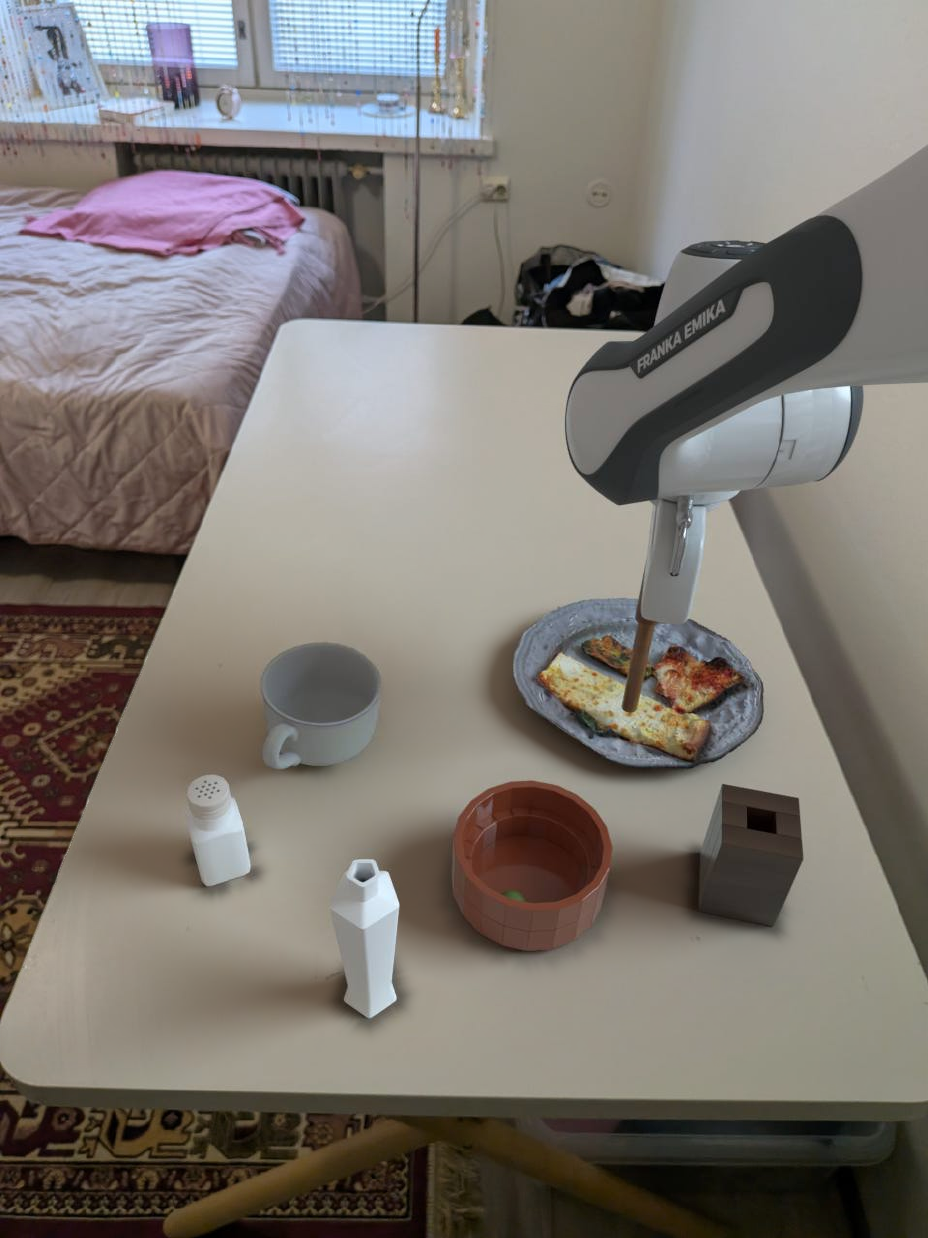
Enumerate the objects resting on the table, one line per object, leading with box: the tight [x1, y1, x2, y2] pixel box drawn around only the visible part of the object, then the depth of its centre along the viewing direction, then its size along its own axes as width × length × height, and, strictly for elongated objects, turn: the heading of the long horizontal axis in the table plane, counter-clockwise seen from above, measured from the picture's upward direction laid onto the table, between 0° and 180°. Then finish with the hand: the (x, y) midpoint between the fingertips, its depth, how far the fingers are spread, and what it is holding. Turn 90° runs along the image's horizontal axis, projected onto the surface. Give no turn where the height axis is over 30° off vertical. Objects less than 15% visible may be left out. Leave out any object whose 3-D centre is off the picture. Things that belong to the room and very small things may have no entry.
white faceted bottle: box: [329, 858, 400, 1019], centre depth 64 cm, size 5×4×15 cm
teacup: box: [259, 641, 382, 770], centre depth 85 cm, size 14×11×8 cm
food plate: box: [512, 597, 765, 770], centre depth 94 cm, size 25×23×4 cm
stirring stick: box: [622, 557, 659, 713], centre depth 83 cm, size 2×2×18 cm
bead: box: [502, 890, 526, 902], centre depth 73 cm, size 2×2×2 cm
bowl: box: [451, 780, 614, 952], centre depth 75 cm, size 12×12×6 cm
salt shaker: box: [184, 773, 252, 887], centre depth 74 cm, size 4×4×10 cm
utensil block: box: [698, 783, 805, 927], centre depth 74 cm, size 6×6×9 cm
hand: (659, 597), depth 80 cm, fingers open, 4 cm apart
